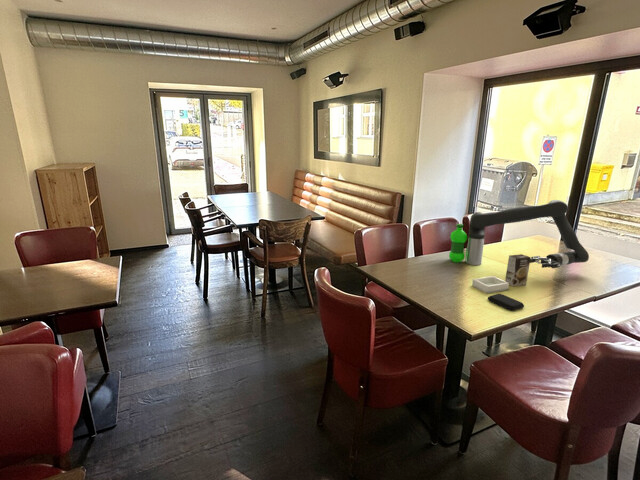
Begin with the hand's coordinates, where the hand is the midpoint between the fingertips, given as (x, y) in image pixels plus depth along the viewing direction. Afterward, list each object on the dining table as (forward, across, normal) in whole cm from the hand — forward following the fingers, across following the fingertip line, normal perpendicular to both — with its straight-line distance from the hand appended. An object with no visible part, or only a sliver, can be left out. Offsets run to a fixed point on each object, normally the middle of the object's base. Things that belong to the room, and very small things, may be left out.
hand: (535, 263), depth 196 cm
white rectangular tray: (+30, 0, +10) cm, 32 cm away
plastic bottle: (+17, -43, +10) cm, 48 cm away
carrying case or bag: (+38, +18, +11) cm, 43 cm away
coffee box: (+12, 0, +11) cm, 16 cm away
